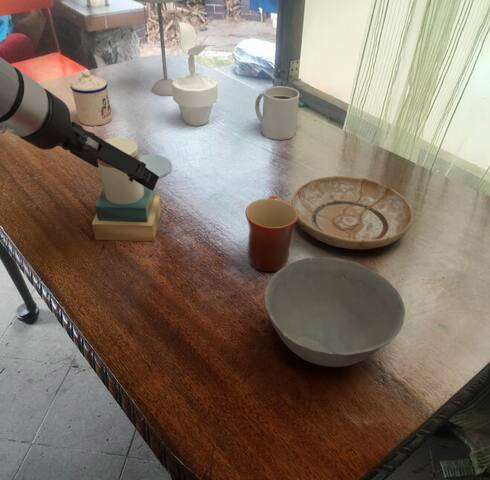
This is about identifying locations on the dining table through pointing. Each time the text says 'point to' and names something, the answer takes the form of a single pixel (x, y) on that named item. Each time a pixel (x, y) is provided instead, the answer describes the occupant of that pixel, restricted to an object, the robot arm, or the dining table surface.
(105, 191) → the canister
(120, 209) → the stack
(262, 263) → the mug
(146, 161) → the coaster
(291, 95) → the mug
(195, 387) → the dining table surface
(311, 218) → the ceramic bowl
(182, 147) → the dining table surface
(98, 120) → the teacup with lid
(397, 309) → the bowl
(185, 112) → the potted plant
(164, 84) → the lamp
